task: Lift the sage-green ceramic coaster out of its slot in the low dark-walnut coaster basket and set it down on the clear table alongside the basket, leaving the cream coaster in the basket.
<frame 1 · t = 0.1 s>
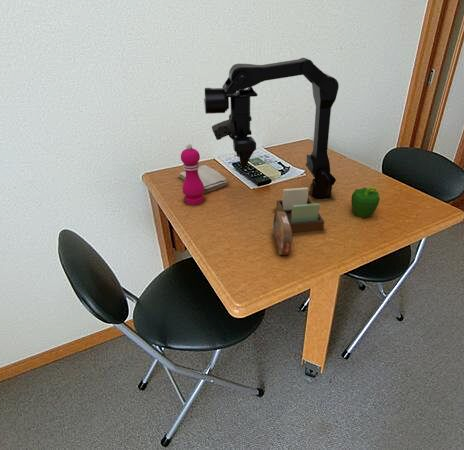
hand: (240, 162, 107), 15 cm above the table, tool pointing down, fingers open, 9 cm apart
pepper mill: (194, 201, 116), on the table
bell pepper: (361, 214, 110), on the table
washcloth: (203, 182, 128), on the table
coaster basket: (298, 220, 106), on the table
sage coaster: (303, 227, 102), point 1 cm above the table, touching coaster basket
cream coaster: (293, 210, 110), point 1 cm above the table, touching coaster basket
tin: (281, 244, 96), on the table
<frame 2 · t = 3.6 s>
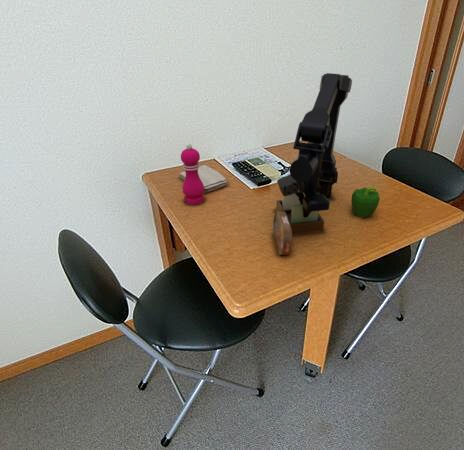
hand: (304, 216, 99), 5 cm above the table, tool pointing down, fingers closed on sage coaster, 1 cm apart
sage coaster: (303, 227, 102), point 1 cm above the table, touching coaster basket, gripper
everything else where it was.
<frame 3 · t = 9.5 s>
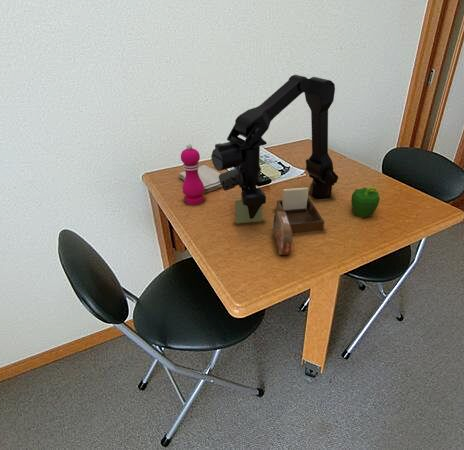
hand: (248, 210, 102), 5 cm above the table, tool pointing down, fingers open, 9 cm apart
sage coaster: (249, 222, 105), on the table
everything else where it was.
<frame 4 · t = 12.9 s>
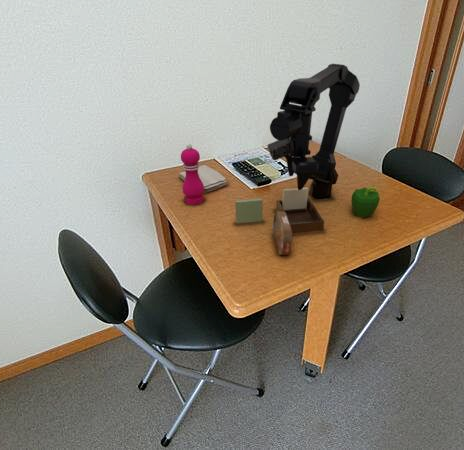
hand: (295, 182, 100), 13 cm above the table, tool pointing down, fingers open, 9 cm apart
nothing on the table moved.
at the end: sage coaster inside the target area (0.7 cm from its centre), on the table; the gripper is holding nothing; cream coaster moved 0.0 cm from its start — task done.
